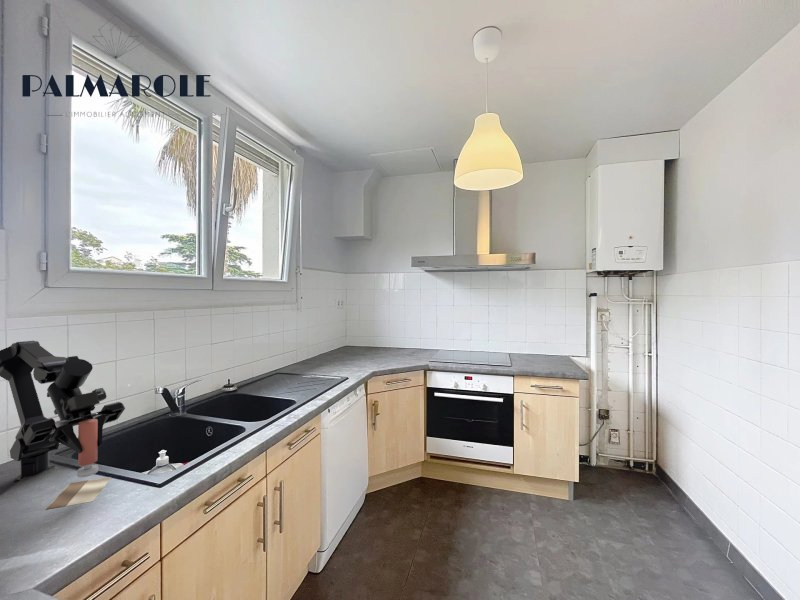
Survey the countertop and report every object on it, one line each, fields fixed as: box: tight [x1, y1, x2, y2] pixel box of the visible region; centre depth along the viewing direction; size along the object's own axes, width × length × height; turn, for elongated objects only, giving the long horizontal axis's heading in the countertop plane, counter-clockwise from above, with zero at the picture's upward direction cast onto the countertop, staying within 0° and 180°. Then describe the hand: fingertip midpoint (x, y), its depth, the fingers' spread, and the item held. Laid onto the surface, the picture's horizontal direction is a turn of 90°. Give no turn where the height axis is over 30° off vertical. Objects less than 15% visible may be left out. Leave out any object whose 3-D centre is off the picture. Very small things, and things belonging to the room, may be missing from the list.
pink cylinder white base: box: [76, 419, 99, 478], centre depth 86 cm, size 4×4×13 cm
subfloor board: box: [44, 476, 112, 511], centre depth 88 cm, size 12×9×1 cm
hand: (91, 448), depth 86 cm, fingers closed on pink cylinder white base, 4 cm apart
